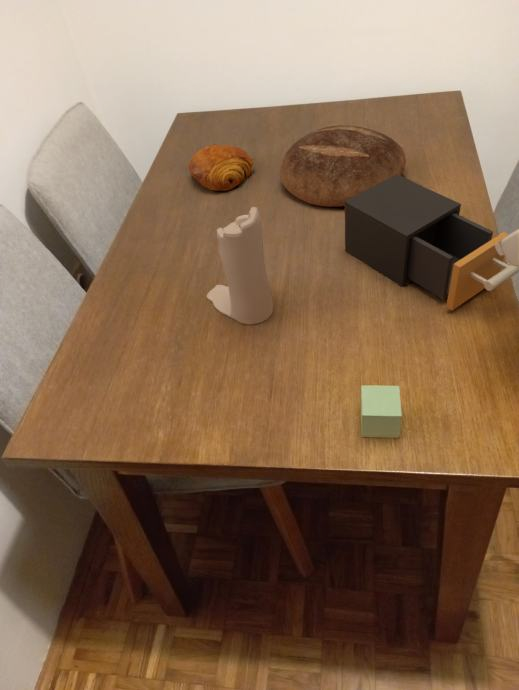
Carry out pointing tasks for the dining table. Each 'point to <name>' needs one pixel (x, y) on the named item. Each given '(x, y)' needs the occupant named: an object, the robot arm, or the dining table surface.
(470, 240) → the drawer
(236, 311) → the candle
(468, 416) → the dining table surface
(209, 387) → the dining table surface
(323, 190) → the bread
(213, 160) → the croissant
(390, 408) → the block
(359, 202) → the cabinet
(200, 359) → the dining table surface
